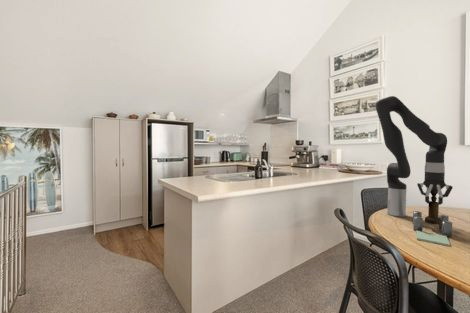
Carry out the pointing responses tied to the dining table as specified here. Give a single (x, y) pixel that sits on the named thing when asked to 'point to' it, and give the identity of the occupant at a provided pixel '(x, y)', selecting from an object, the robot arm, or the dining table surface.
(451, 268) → the dining table surface
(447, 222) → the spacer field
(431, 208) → the wooden pepper mill
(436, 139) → the robot arm
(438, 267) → the dining table surface
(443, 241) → the green mat
